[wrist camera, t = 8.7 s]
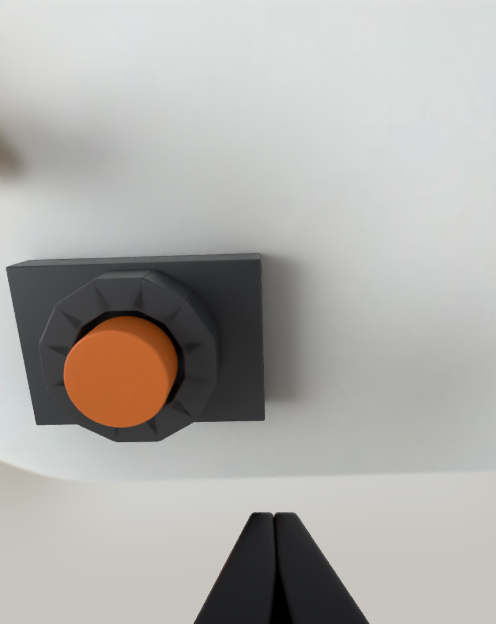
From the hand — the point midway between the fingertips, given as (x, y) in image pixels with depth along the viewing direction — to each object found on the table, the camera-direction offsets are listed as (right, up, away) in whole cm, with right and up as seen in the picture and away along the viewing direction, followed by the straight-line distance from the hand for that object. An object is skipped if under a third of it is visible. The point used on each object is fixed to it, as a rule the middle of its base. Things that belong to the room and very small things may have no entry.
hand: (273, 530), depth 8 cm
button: (-5, +2, +8) cm, 9 cm away
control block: (-5, +3, +11) cm, 12 cm away
